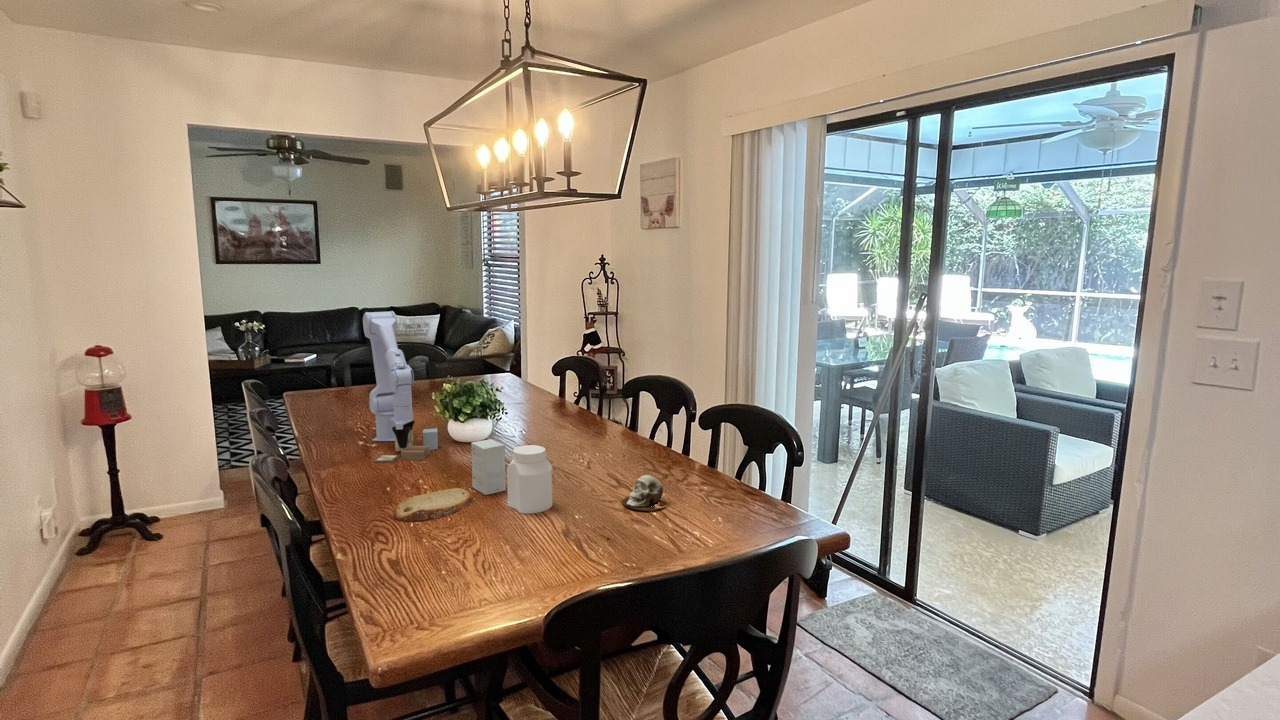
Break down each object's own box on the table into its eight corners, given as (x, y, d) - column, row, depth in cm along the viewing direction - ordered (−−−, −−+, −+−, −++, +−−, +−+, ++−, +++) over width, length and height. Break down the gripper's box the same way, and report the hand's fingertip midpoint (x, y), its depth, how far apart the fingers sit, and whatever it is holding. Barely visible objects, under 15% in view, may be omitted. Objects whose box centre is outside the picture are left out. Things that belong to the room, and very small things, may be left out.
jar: (502, 503, 177) (501, 447, 175) (534, 495, 183) (533, 441, 181) (525, 516, 169) (524, 458, 166) (557, 507, 175) (557, 451, 172)
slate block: (423, 446, 227) (423, 429, 226) (437, 445, 228) (437, 428, 227) (423, 450, 223) (422, 432, 222) (437, 449, 224) (437, 431, 223)
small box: (506, 490, 187) (505, 444, 184) (485, 495, 183) (484, 449, 180) (492, 482, 193) (491, 438, 191) (471, 487, 189) (470, 442, 187)
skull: (641, 513, 169) (625, 477, 173) (624, 529, 176) (609, 494, 181) (679, 502, 176) (663, 467, 180) (661, 518, 183) (646, 484, 187)
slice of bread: (473, 495, 184) (473, 482, 183) (466, 521, 166) (465, 506, 166) (404, 497, 181) (404, 484, 181) (390, 524, 164) (389, 509, 163)
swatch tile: (380, 456, 215) (380, 454, 215) (399, 456, 215) (399, 454, 215) (373, 462, 209) (373, 460, 209) (393, 462, 210) (393, 460, 209)
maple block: (400, 447, 226) (399, 430, 225) (413, 447, 226) (412, 430, 225) (395, 451, 221) (394, 433, 220) (409, 451, 221) (408, 433, 220)
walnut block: (408, 454, 219) (407, 445, 219) (429, 454, 219) (429, 445, 219) (400, 461, 212) (400, 452, 212) (423, 461, 212) (423, 452, 212)
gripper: (394, 400, 227) (396, 439, 230) (385, 410, 213) (387, 452, 215) (416, 399, 229) (417, 439, 231) (408, 409, 214) (410, 451, 217)
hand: (404, 445), depth 223 cm, fingers closed on maple block, 5 cm apart
